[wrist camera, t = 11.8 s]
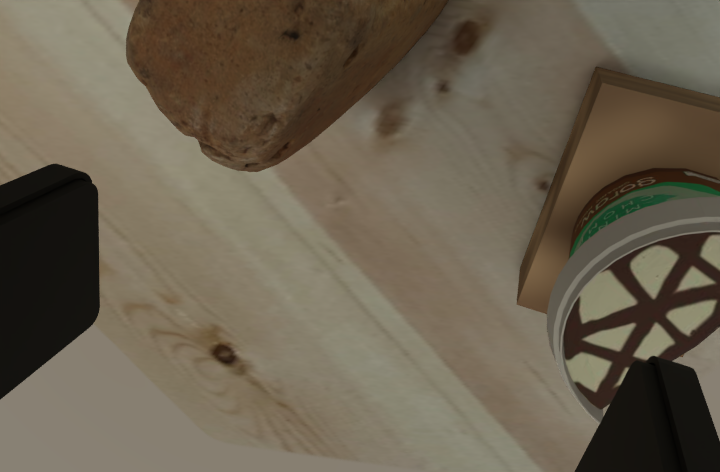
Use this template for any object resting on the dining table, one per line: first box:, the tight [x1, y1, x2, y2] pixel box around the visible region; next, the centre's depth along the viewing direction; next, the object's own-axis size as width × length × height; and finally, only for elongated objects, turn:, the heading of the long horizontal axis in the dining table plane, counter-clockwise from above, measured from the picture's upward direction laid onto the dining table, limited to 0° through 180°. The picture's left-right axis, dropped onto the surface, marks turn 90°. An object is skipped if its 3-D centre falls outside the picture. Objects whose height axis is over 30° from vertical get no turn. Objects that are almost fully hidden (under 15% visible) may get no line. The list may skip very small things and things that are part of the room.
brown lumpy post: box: [126, 0, 448, 172], centre depth 29 cm, size 11×8×20 cm
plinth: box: [517, 67, 720, 357], centre depth 35 cm, size 14×10×5 cm
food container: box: [547, 168, 720, 424], centre depth 29 cm, size 12×6×10 cm, turn 146°
